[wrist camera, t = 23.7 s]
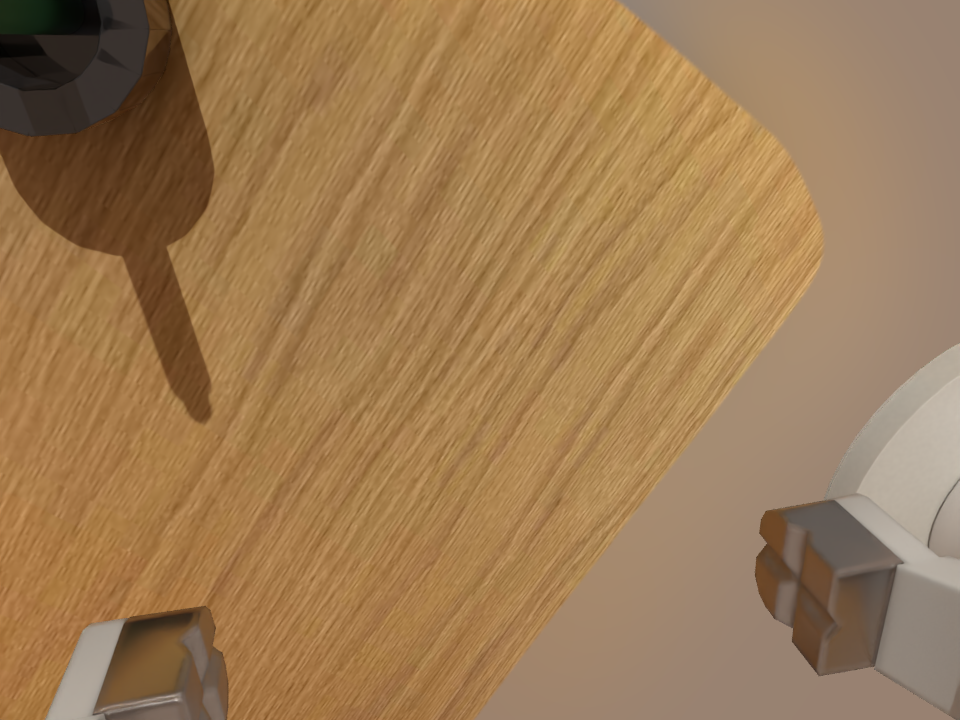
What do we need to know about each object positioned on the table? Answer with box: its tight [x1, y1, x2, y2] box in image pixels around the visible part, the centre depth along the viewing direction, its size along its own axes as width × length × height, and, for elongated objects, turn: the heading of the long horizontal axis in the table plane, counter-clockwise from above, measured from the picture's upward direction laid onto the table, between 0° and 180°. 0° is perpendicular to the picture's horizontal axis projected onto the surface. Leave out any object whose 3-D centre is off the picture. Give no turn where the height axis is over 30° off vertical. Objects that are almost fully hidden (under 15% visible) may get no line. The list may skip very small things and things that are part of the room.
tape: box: [0, 0, 172, 137], centre depth 28 cm, size 8×8×4 cm
